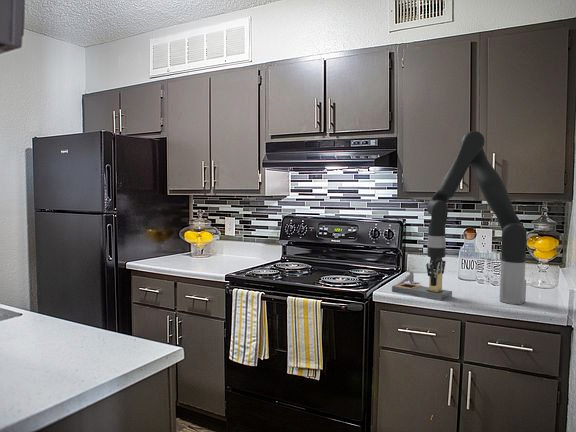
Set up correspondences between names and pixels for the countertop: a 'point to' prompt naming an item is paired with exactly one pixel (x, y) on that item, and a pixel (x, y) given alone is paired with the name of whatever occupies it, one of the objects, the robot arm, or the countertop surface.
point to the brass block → (438, 283)
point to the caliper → (407, 278)
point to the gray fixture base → (421, 291)
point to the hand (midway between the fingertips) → (435, 284)
